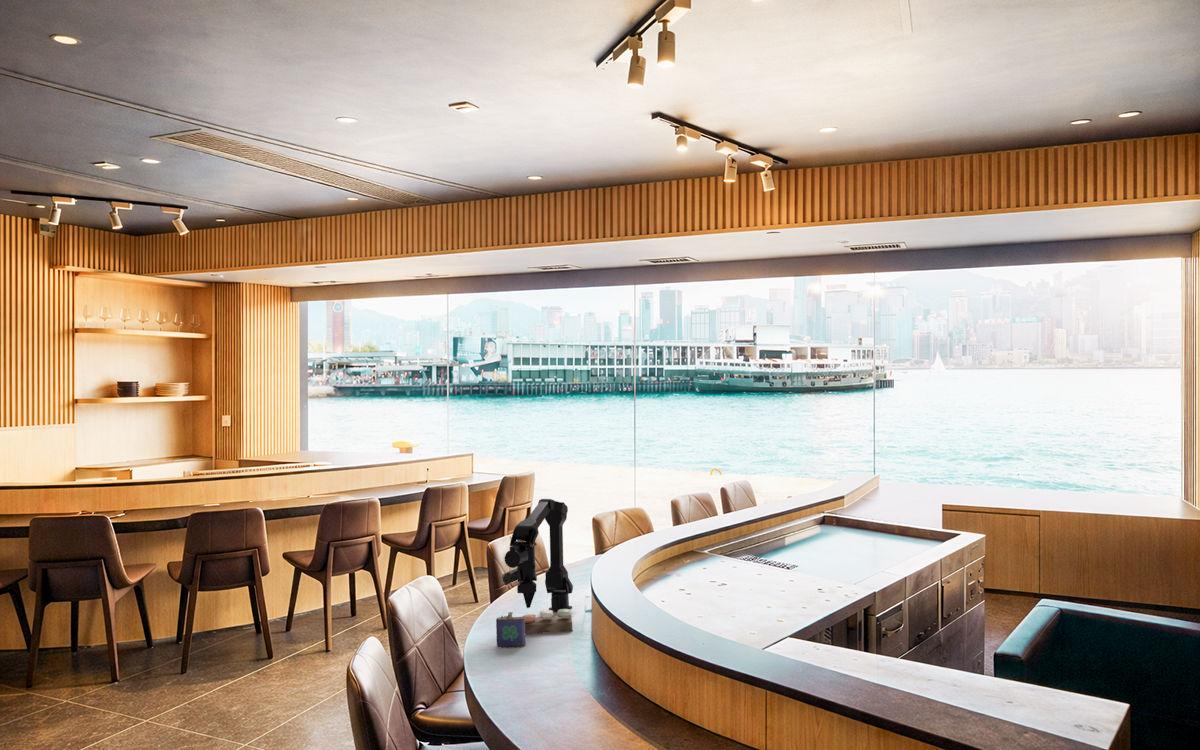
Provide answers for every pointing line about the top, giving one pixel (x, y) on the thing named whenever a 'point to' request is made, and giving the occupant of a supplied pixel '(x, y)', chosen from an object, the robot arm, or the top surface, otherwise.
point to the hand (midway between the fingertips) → (528, 607)
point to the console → (549, 625)
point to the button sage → (564, 613)
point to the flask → (510, 631)
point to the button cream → (546, 614)
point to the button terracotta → (529, 618)
